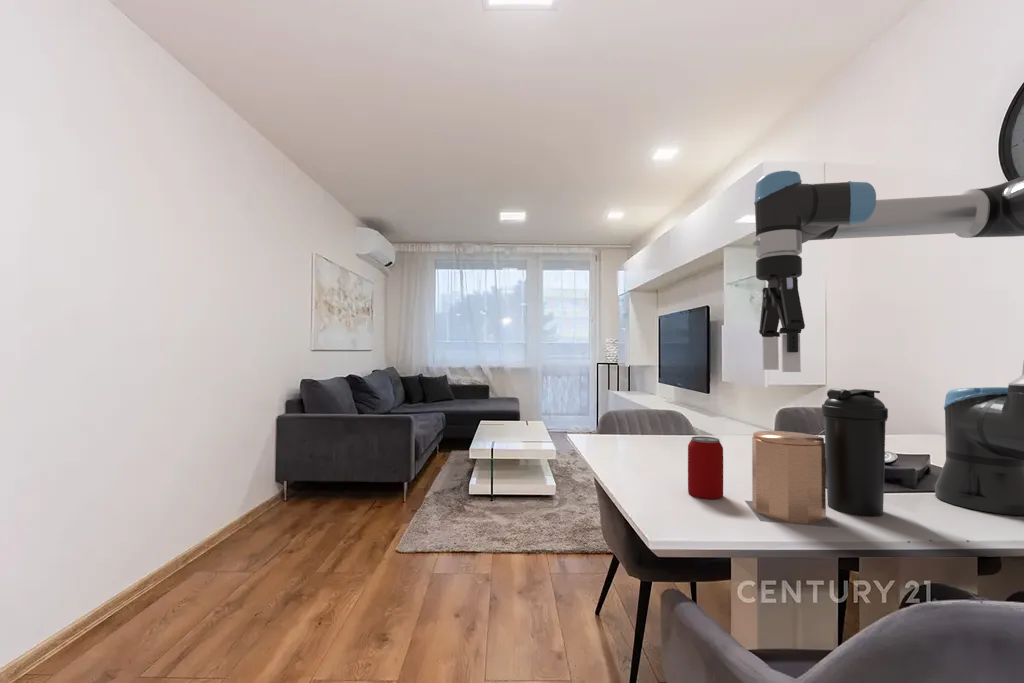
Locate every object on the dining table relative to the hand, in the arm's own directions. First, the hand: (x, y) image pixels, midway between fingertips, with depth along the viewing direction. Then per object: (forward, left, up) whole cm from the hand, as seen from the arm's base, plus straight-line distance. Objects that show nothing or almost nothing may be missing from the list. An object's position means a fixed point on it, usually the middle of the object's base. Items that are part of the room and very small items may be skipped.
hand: (780, 370), depth 89 cm
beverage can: (+12, -7, -27) cm, 30 cm away
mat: (-1, +1, -26) cm, 26 cm away
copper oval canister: (-1, +1, -26) cm, 26 cm away
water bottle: (-14, -5, -27) cm, 30 cm away
